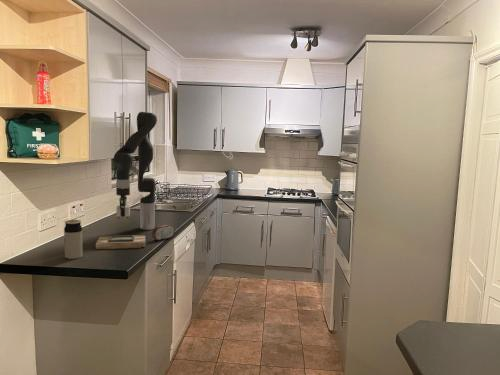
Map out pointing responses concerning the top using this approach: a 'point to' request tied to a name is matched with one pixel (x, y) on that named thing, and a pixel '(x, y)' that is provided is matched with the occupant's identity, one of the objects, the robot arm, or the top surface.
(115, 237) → the loading dock
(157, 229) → the tin
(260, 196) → the top surface
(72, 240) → the travel mug
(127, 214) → the white block
